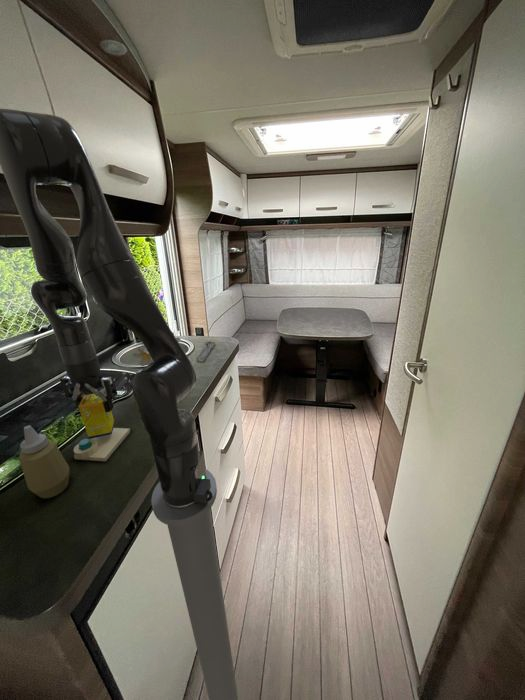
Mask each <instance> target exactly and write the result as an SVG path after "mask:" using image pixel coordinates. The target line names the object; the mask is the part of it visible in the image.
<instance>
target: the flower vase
mask: <svg viewBox="0 0 525 700" xmlns="http://www.w3.org/2000/svg"><path fill="white" fill-rule="evenodd" d="M172 333H173V334H174V335H175V333H174V332H173V331H172ZM175 338H176V339H177V341H178V342H179V343H181V338H180V337H175ZM140 345H143V346H144V347H142V348H140V347H138V348H137V351H138V352H136V353H132V357H133V358H135V359H140V361H139V364H140V366H142V367H146V366H147V363H148V365H149V364H151V363H152V362H153V360H152V358H151V356H150V354H149V352H148V350H147V349H146V347H145V345H144V344H143V342H142V341H141V342H140Z"/></svg>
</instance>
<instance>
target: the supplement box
mask: <svg viewBox="0 0 525 700" xmlns="http://www.w3.org/2000/svg"><path fill="white" fill-rule="evenodd" d="M103 394H104V393H103ZM104 395H105V394H104ZM82 396H83V398H82V400H81V402H80V404H79V406H78V407H79V409H78V411H79V410H80V411H79V413H80V416H81V420H82V422H83V425H84V428H85V431H86V434H87V437H88V439H92V438H96V437H101V436H106V435H110V434H112V431H113V428H115V427H114V426H115V418H114V414H113V412H112V410H111V411H110V412H106V411H105V408H104V405H103V400H102V399H101V398H100V397H99V396H96V395H95V394H94V393H90V394H85V395H82ZM105 396H106V395H105Z"/></svg>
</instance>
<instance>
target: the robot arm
mask: <svg viewBox="0 0 525 700" xmlns="http://www.w3.org/2000/svg"><path fill="white" fill-rule="evenodd" d="M0 168H1V172H2V173H3V176H4V179H5V181H6V183H7V186H8V189H9V191H10V193H11V196H12V199H13V201H14V204H15V207H16V209H17V212H18V214H19V216H20V218H21V221H22V224H23V225H24V228H25V230H26V233H27V237H28V240H29V243H30V247H31V252H32V257H33V262H34V266H35V267H34V268H35V270H36V272H37V274H38V275H39V276H40V278H42V279H41V280H40V279H39V280H35V281H34V282H33V283H32V284H31V286H30V296H31V299H32V300H33V301H34V304H36V306H37V307H38V308H39V310H40V311H41V312H42V313H43V315H44V316H45V318H46V319H47V321H48V322H49V324H50V326H51V328H52V330H53V333H54V335H55V339H56V343H57V344H58V350H59V354H60V357H61V361H62V364H63V366H64V369H65V373H66V375H65V376H64V377H61V378H60V379H59V382H60V385H61V388H62V390H63V391H62V392H63V394H64V396H65V398H66V399H72V401H74V403H75V406H76V408H77V410H78V411H79V412H80V410H79V407H78V406H79V404H80V402H81V400H82V398H83V396H84V394H86V393H90V394H95V395H96V396H99V397H100V398H101V399H102V400H103V405H104V408H105V411H106V412H110V411H112V410H113V409H114V402H113V399H115V397H116V396H118V389H117V387H116V383H115V379H114V377H113V376H111V375H109V376H108V377H104V376H102V375H101V366H100V363H99V359H98V354H97V351H96V347H95V344H94V343H93V341H92V338H91V335H90V331H89V327H88V324H87V321H86V319H85V318H84V317H82V316H77V315H75V316H73V315H70V316H69V315H66V316H65V315H61V314H60V313H59V312H58V311H59V310H64V309H71V308H72V309H73V308H78V307H80V306H83V305H84V304H85V303H86V301H87V298H88V294H87V291H86V288H87V290H88V292H89V294H90V295H91V297H92V299H93V301H94V302H95V303H96V305H97V306H98V307H99V308H100V309H101V310H102V311H103V312H104V313H106V314H107V315H108V316H109V317H110V318H112V319H113V320H115V321H116V322H118V323H119V324H121V325H122V326H124V327H125V328H127V329H128V330H129V331H130V332H132V333H133V334H134V335H135V336H137V338H138V339H139V340H140V341H141V342H143V344H144V345H143V346H144V347H146V349H147V350H148V352H149V354H150V356H151V359H152V361H153V362H152V363H151V364H149V363H148V364H146V365H145V366H143V368H141V369H140V370H138V371H136V372H135V374H134V375H133V377H132V380H131V381H132V382H131V390H132V395H133V398H134V402H135V405H136V407H137V411H138V414H139V417H140V421H141V424H142V426H143V428H144V429H145V431H146V432H147V434H148V437H149V440H150V445H151V449H152V453H153V457H154V460H155V461H154V463H155V466H156V470H157V475H158V480H159V481H158V483H160V484H161V485H160V487H161V489H162V492H163V498H164V501H165V503H166V504H167V505H168V506H169V507H171V508H175V509H182V508H186V507H189V506H191V505H193V504H199V503H206V502H208V501H210V500H211V499H212V497H213V495H212V493H211V491H210V488H211V484H210V479H207V476H206V470H207V469H206V463H205V456H204V451H203V450H200V446H199V440H198V434H197V427H196V426H197V425H196V420H195V419H196V418H195V416H194V414H193V413H192V412H191V411H190V410H187V409H185V408H179V407H178V404H179V403H180V402H181V401H182V400H183V399H184V398H186V397H187V396H188V395H190V393H191V392H192V391H193V390H194V388H195V387H196V384H197V374H196V371H195V368H194V366H193V364H192V362H191V360H190V358H189V357H188V355H187V354H186V351H185V350H184V349H183V347H182V345H181V344H180V342H178V341H177V339H176V338H177V337H176V336H175V333H174V332H173V331H172V330H171V327H170V326H169V325H168V323H167V321H166V319H165V317H164V315H163V313H162V311H161V309H160V308H159V305H158V304H157V302H156V300H155V298H154V296H153V294H152V292H151V290H150V288H149V286H148V284H147V281H146V279H145V277H144V275H143V273H142V270H141V269H140V266H139V265H138V263H137V261H136V259H135V257H134V256H133V255H134V254H133V253H132V251H131V250H130V248H129V246H128V244H127V242H126V240H125V238H124V236H123V234H122V232H121V230H120V228H119V226H118V224H117V222H116V219H115V217H114V216H113V213H112V211H111V209H110V206H109V205H108V204H109V203H108V201H107V200H106V197H105V195H104V192H103V191H102V190H103V189H102V187H101V185H100V182H99V180H98V177H97V175H96V172H95V170H94V168H93V165H92V162H91V160H90V158H89V155H88V153H87V150H86V148H85V146H84V144H83V141H82V140H81V138H80V136H79V134H78V133H77V131H76V130H75V128H74V127H73V126H72V125H71V123H70V122H69V121H68V120H66V119H65V118H63V117H61V116H57V115H54V114H49V113H39V112H33V111H23V110H18V109H10V108H0ZM39 185H40V186H46V185H49V186H50V185H67V186H68V187H69V188H70V190H71V191H72V193H73V195H74V199H75V200H76V204H77V208H78V210H79V211H78V212H79V229H78V234H77V243H76V252H75V248H74V244H73V241H72V238H71V237H70V235H69V234H68V232H67V231H66V229H64V227H62V225H61V224H60V223H59V222H58V221H57V220H56V219H55V218H54V217H53V216H52V215H51V213H49V211H48V210H47V209H46V208H45V207H44V206H43V204H42V203H41V200H40V199H39V196H38V193H37V189H36V187H37V186H39ZM78 273H79V275H78ZM79 276H80V277H81V279H82V281H83V283H84V284H83V283H82V281H81V279H80V277H79ZM84 285H85V286H84ZM85 287H86V288H85ZM172 332H173V333H174V334H173V333H172ZM99 389H100V390H99ZM103 393H104V394H105V395H106V396H105V395H104V394H103ZM208 495H209V497H208ZM207 497H208V498H207Z"/></svg>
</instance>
